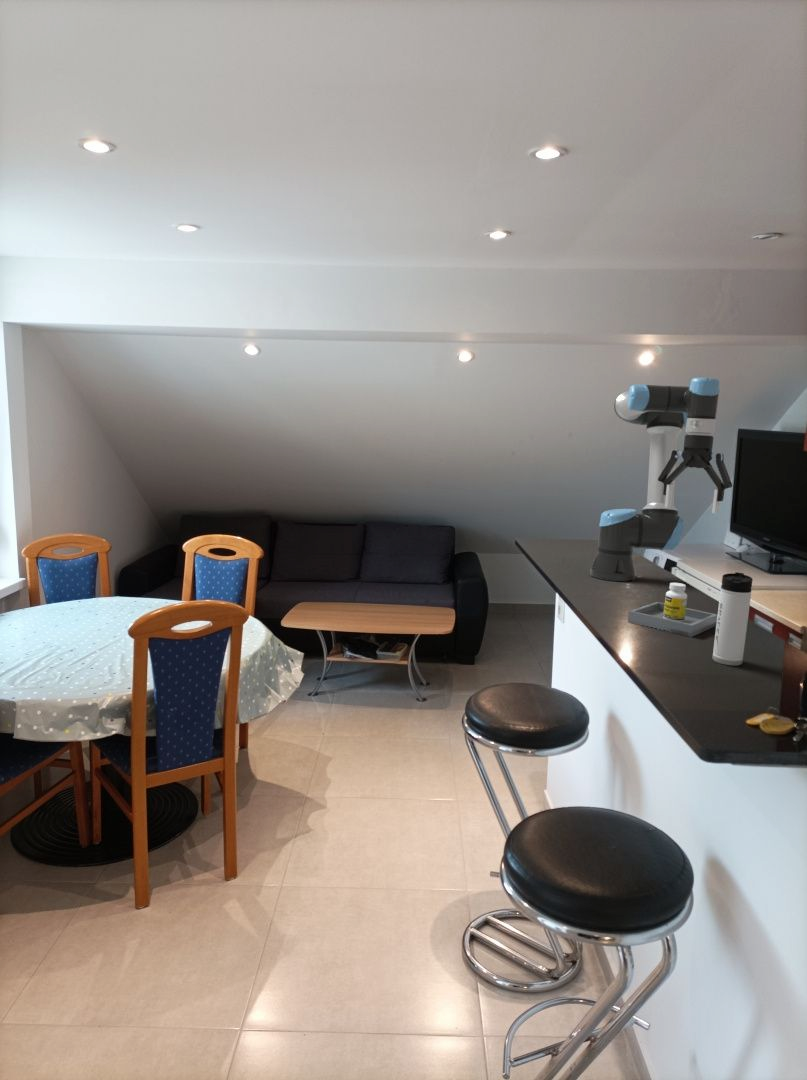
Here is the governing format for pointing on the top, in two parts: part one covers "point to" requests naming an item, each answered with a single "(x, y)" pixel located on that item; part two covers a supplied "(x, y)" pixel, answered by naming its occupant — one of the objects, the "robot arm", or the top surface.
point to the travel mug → (732, 619)
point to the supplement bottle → (675, 602)
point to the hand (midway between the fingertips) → (690, 510)
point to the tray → (689, 627)
